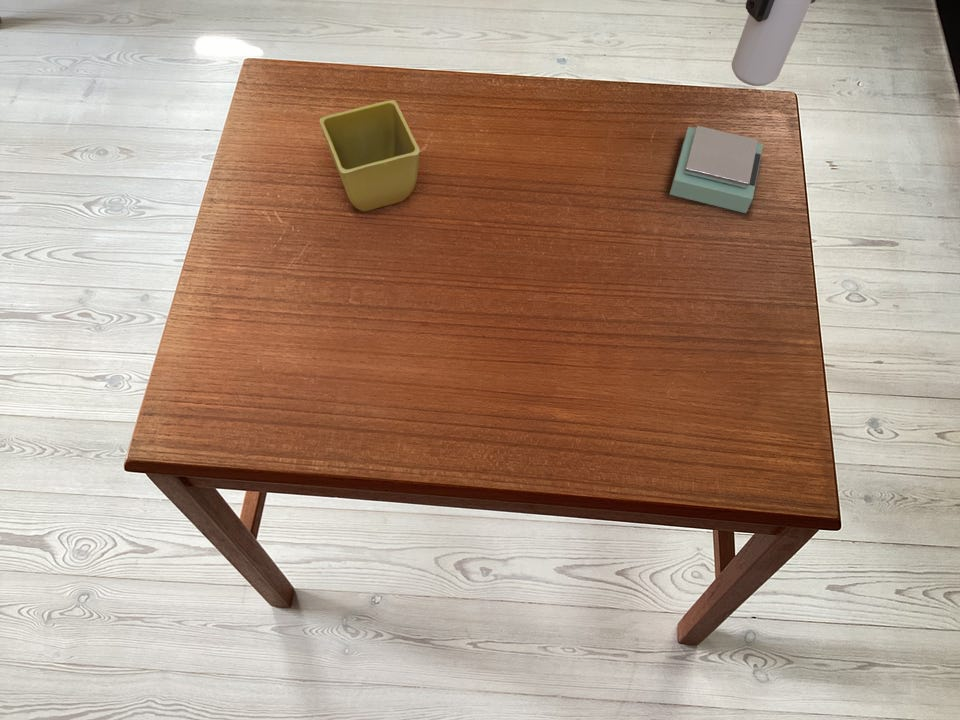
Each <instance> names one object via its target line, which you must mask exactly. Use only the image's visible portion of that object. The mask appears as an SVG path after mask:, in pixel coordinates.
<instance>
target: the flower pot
mask: <svg viewBox="0 0 960 720" xmlns="http://www.w3.org/2000/svg"><path fill="white" fill-rule="evenodd" d="M319 124H320V127H321V130H322V133H323V136H324V139H325V142H326V144H327V148H328V150H329V154H330V157H331V158H332V161H333V164H334V165H335V168H336V170H337V173H338V175H339V177H340V180H341V183H342V185H343V188H344V190H345V193H346V196H347V198H348V200H349V202H350V203H351V204H352V206H353V207H354V208H355V209H357V210H359V211H360V212H365V213H366V212H369V211H373V210H376V209H379V208H383V207H387V206H391V205H394V204H398V203H401V202H403V201H405V200H406V199H407V198H408V197H409V196H410V195H411V194H412V192H413V191H414V189H415V187H416V184H417V180H418V174H419V173H418V172H419V166H420V165H419V163H420V156H421V149H420V147H419V145H418V143H417V141H416V139H415V137H414V135H413V133H412V131H411V129H410V127H409V124H408V123H407V121H406V119H405V116H404V115H403V113H402V109H401V108H400V106H399V104H398V102H397V101H396V100H395V99H390V100H385V101H380V102H376V103H372V104H368V105H364V106H359V107H357V108H352V109H349V110H345V111H340V112H337V113H336V112H335V113H333V114H329V115H325V116H322V117H320V118H319Z"/></svg>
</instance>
